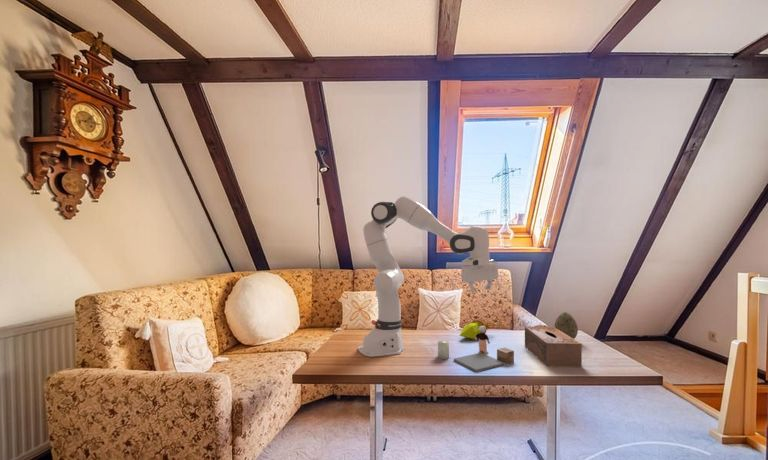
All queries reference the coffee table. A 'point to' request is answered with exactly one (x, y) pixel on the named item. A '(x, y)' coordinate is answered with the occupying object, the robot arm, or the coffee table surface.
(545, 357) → the tissue box cover
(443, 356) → the sage green capsule
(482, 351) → the grandmother figurine
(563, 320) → the decorative egg
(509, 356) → the walnut block
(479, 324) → the plumb bob
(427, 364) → the coffee table surface
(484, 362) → the slate mat
